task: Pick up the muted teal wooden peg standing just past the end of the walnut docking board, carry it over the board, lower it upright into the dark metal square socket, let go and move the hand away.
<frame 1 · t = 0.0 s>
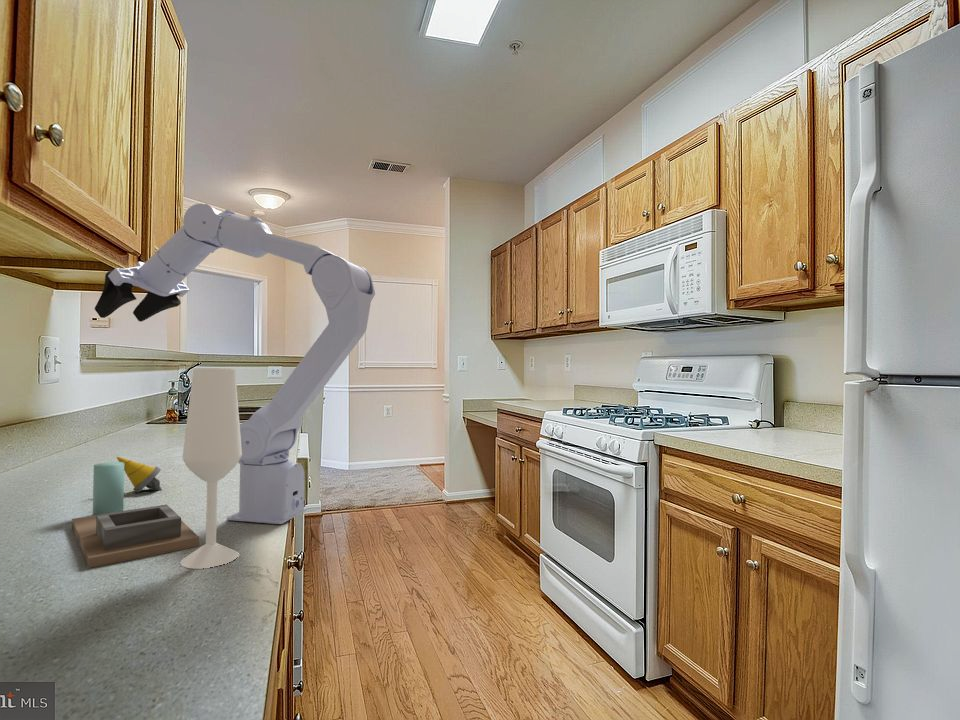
hand: (118, 315, 90), 32 cm above the worktop, fingers open, 7 cm apart
champagne flute: (210, 560, 67), on the worktop
yellow cone with base: (140, 493, 98), on the worktop
peg: (108, 514, 84), on the worktop
dock board: (132, 536, 74), on the worktop
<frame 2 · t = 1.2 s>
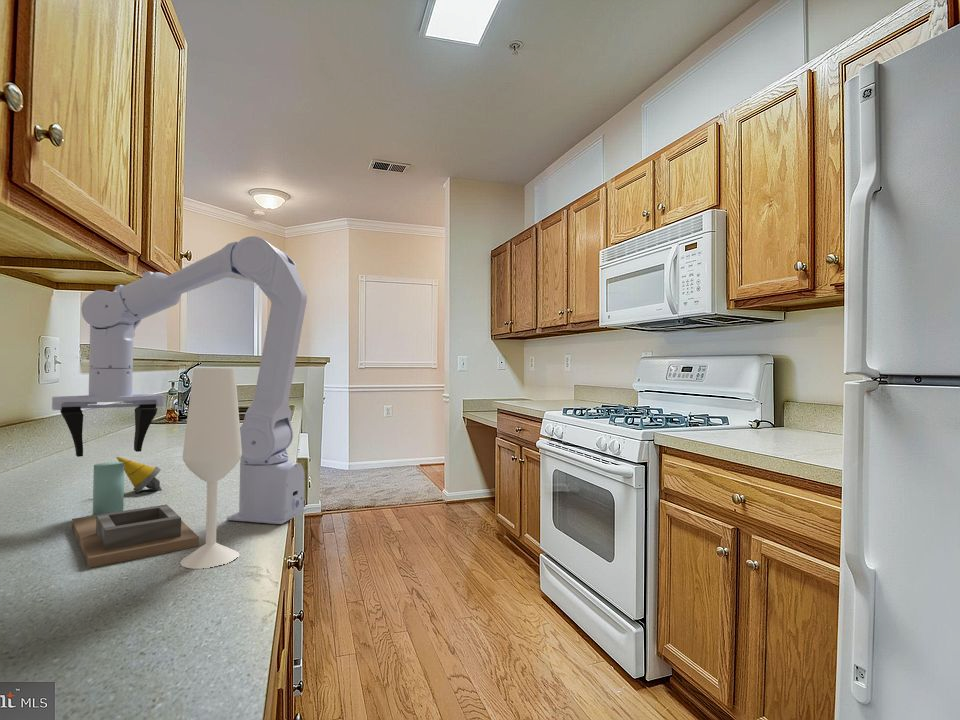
hand: (109, 453, 84), 10 cm above the worktop, fingers open, 7 cm apart
nothing on the worktop moved.
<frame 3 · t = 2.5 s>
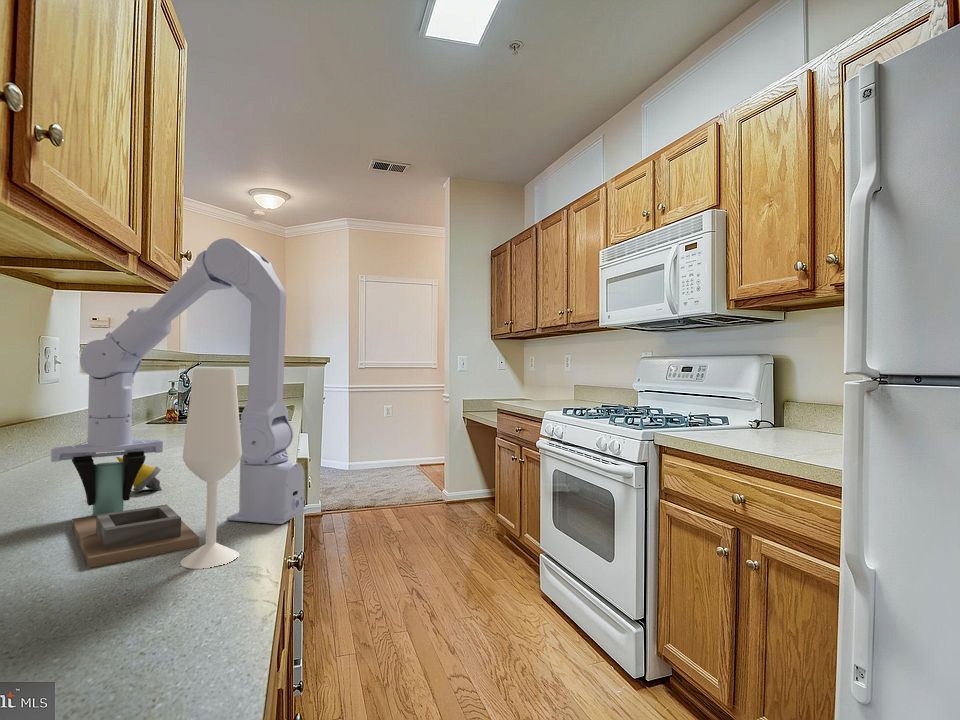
hand: (108, 501, 84), 2 cm above the worktop, fingers closed on peg, 4 cm apart
peg: (108, 514, 84), on the worktop, touching gripper
everything else where it was.
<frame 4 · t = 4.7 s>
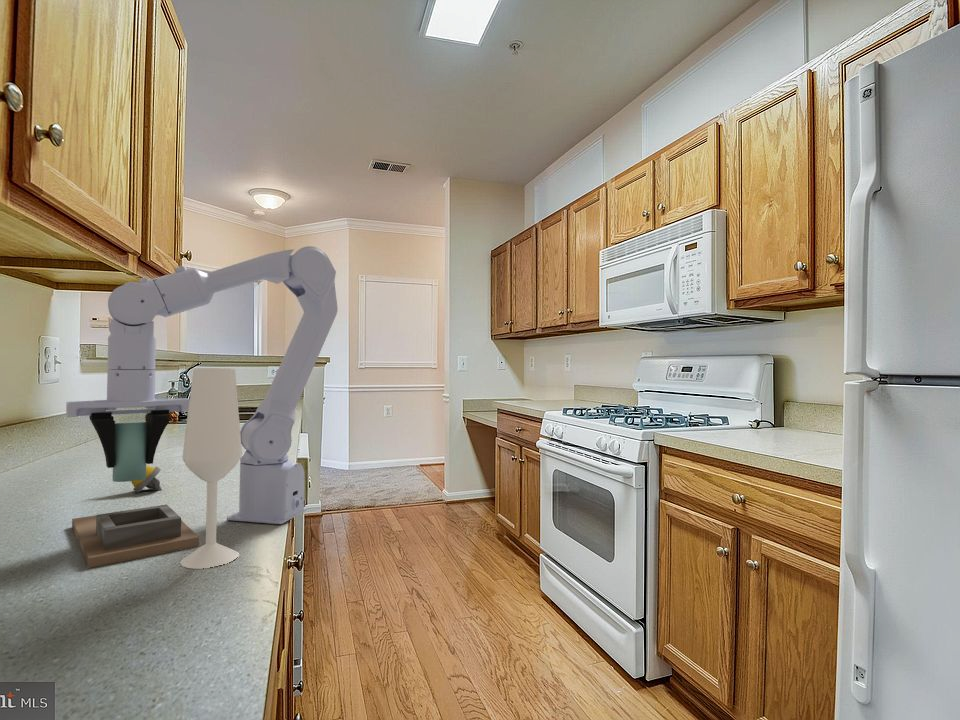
hand: (130, 464, 75), 10 cm above the worktop, fingers closed on peg, 4 cm apart
peg: (129, 479, 75), point 8 cm above the worktop, touching gripper
everything else where it was.
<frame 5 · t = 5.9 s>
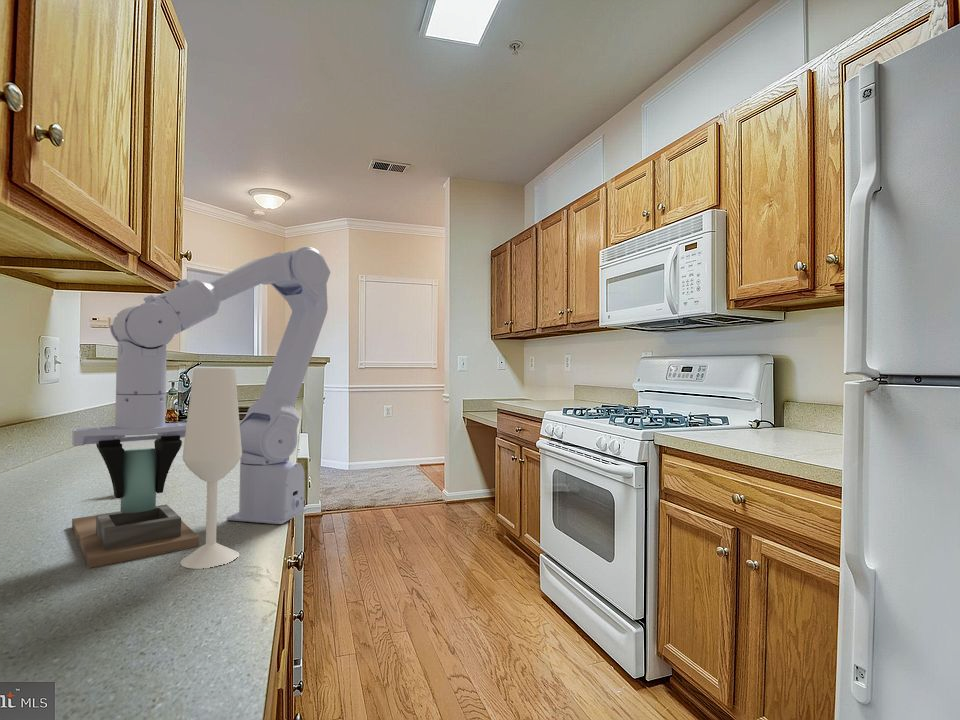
hand: (138, 494, 71), 7 cm above the worktop, fingers closed on peg, 4 cm apart
peg: (138, 509, 71), point 5 cm above the worktop, touching gripper
everything else where it was.
when the fingers open (4 cm above the worktop, at t = 6.8 s): peg drops 1 cm, resting on dock board.
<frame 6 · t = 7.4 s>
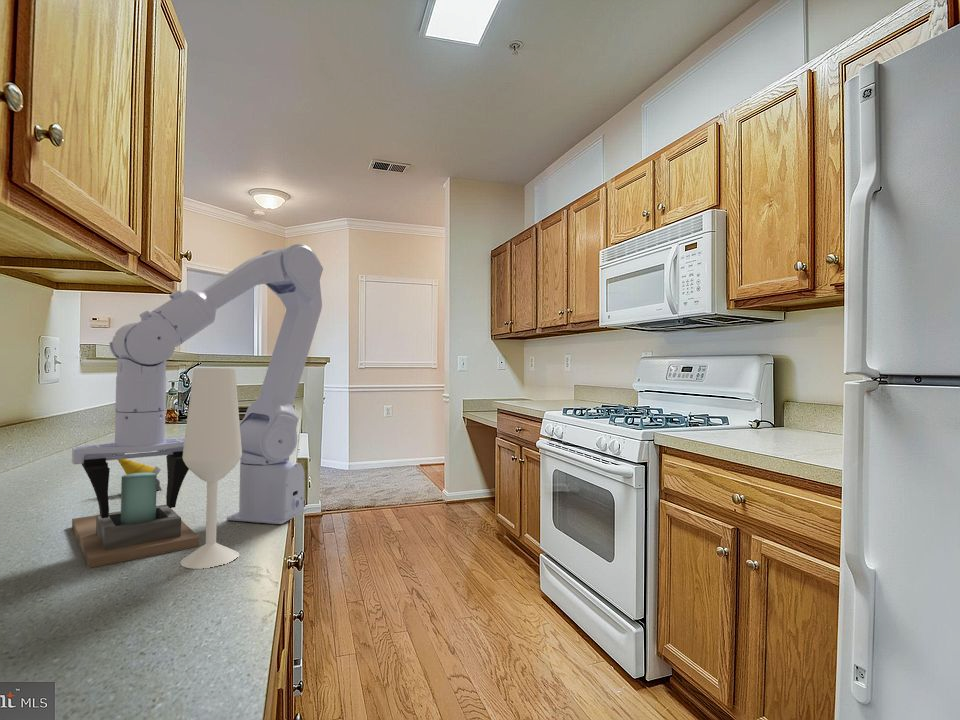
hand: (138, 511, 71), 4 cm above the worktop, fingers open, 7 cm apart
peg: (138, 534, 71), point 1 cm above the worktop, touching dock board
everything else where it was.
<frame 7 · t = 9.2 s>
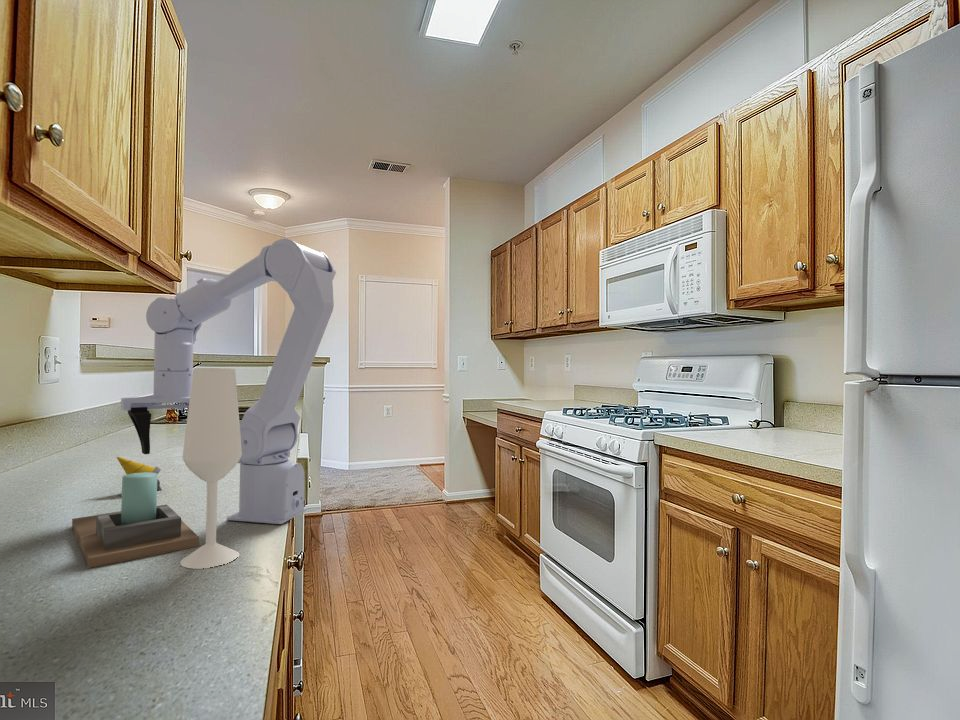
hand: (172, 451, 89), 9 cm above the worktop, fingers open, 7 cm apart
nothing on the worktop moved.
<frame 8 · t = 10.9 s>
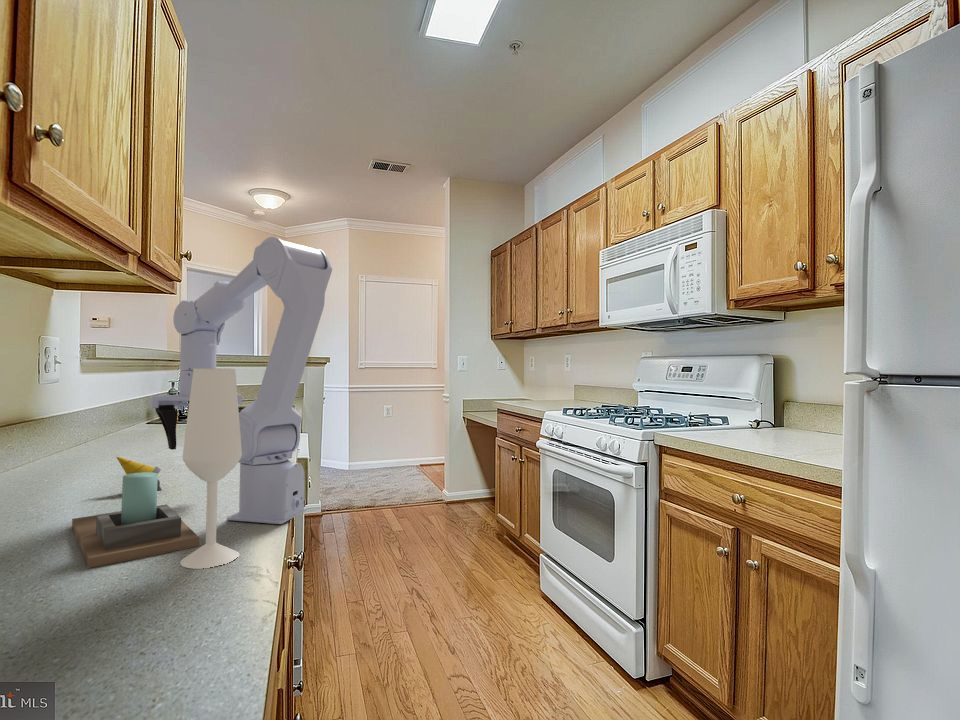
hand: (196, 446, 94), 9 cm above the worktop, fingers open, 7 cm apart
nothing on the worktop moved.
at the end: peg 0.1 cm from the target spot on the dock board, point 1.2 cm above the dock board's base; peg tilted 1°; the gripper is holding nothing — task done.
